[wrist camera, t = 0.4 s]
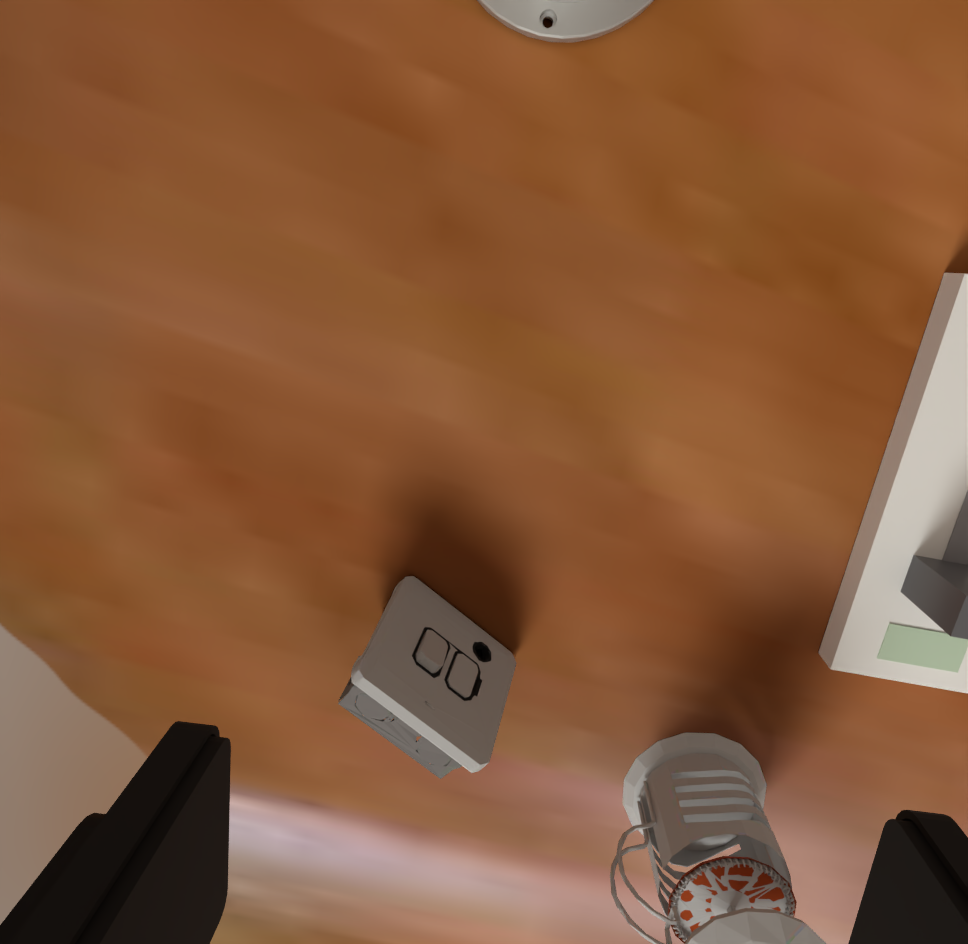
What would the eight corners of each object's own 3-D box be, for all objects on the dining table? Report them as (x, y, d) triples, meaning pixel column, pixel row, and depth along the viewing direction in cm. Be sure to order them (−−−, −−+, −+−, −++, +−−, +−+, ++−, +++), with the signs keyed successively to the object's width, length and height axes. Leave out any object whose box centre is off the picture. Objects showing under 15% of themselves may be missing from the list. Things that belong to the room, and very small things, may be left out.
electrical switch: (519, 655, 50) (508, 752, 41) (469, 702, 52) (448, 805, 43) (408, 567, 49) (373, 649, 40) (361, 618, 50) (317, 708, 42)
